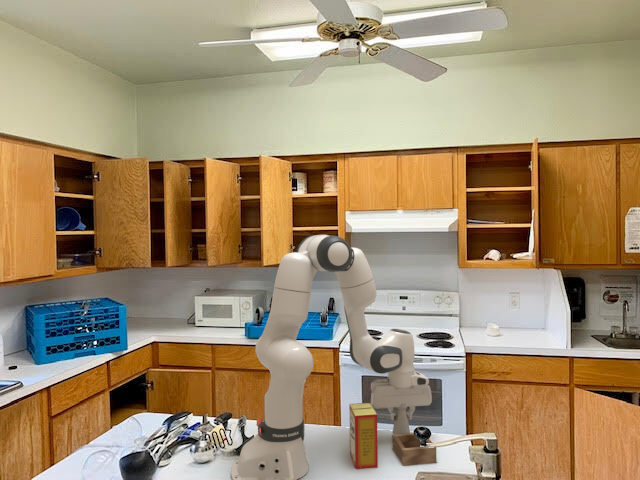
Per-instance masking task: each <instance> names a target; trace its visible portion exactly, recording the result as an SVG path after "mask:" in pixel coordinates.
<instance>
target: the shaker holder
mask: <svg viewBox="0 0 640 480" xmlns="http://www.w3.org/2000/svg"><path fill="white" fill-rule="evenodd" d="M414 433H415V432H412V433H411V432H410V433H408V434H396V435H393V434H392V435H391V441H392V442H391V443H392V444H391V447H392V450H393V451H392V452H393V453H394V454H395V455H396V458H398V460H399V462H400V463H401V465H402V466H403V467H404V466H405V467H406V466H414V465H415V466H417V465H425V464H426V465H428V464H437V447H436V446H435V447H434V448H428V447H420V440H419V439H417V438H416V437H415V435H414ZM426 443H433V442H432V441H431V439H427V440H426Z"/></svg>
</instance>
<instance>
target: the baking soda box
mask: <svg viewBox="0 0 640 480" xmlns="http://www.w3.org/2000/svg"><path fill="white" fill-rule="evenodd" d="M378 451H379V450H378V414H377V412H376V409H375V408H374V407H373V406H372V404H371V402H361V403H360V402H358V403H349V453H350V454H349V455H350V457H351V459H352V462H353V465H354V467H355V469H356V470H361V469H362V470H363V469H364V470H365V469H377V468H378V467H379V465H378V464H379V463H378V462H379V458H378V457H379V456H378V455H379V453H378Z"/></svg>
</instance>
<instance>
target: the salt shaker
mask: <svg viewBox="0 0 640 480" xmlns="http://www.w3.org/2000/svg"><path fill="white" fill-rule="evenodd" d="M395 408H396V409H395V414H396V415H397V418H396V419H397V420H393V421H394V423H393V428H392V435H396V434H408V433H411V430H410V429H411V428H410V424H409V419H408V418H407V409H408V407H406V405H405V404H404V403H403V404H401V405H400V407H395Z"/></svg>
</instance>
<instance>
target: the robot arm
mask: <svg viewBox="0 0 640 480" xmlns="http://www.w3.org/2000/svg"><path fill="white" fill-rule="evenodd" d="M317 272H330V273H335V276H336V278H337V280H338V285H339V288H340V292H341V296H342V299H343V307H344V313H345V319H346V324H347V329H348V333H349V355H350V358H351V360H352V362H353V363H355V364H357V365H359V366H361V367H364V368H366V369H369V371H372V372H374V373H377V374H382V375H383V374H386V373H387V378H380V379H379V378H376V379H374V380H373V381H372V382H371V383H370V391H371V394H370V395H371V396H370V404H371V405H372V407H373V409H374V410H378V409H387V410H388V412H389V414H390V420H391V421H394V420H397V419H396V418H397V415H396V412H395V413H394V412H393V411H394V408H396V407H400V405H401V404H403V403H404V404H405V405H406V407H407V408H408V407H409V409H408V412H407V411H406V413H407V418H408V420H412V419H413V414H414V412H415V410H416V407H421V406H423V407H424V406H430V405H431V403H432V402H433V400H432V399H433V398H432V390H431V386H430V385H429V383H430V380H429V377H427V375H425V374H423V373H422V372H419V371H416V370H415V366H414V365H415V364H414V360H415V342H414V341H415V340H414V337H413V334H412V333H411V332H410V331H407V330H405V329H399V328H391V329H389V330H388V333H387V334H386V335H385V336H383V337H382V338H381V339H379V340H378V339H376V338H373V336H371V335H370V333H369V330H368V326H367V321H366V318H365V317H366V316H365V310H366V309H367V308H368V307H370V306H371V305H372V304H373V303H374V301H376V298H377V287H376V282H375V279H374V276H373V272H372V269H371V267H370V264H369V262H368V259H367V258H366V255H365V254H364V251H363V250H362V249H360V248H358V247H351V245H350V244H349V243H348V242H347V240H345V239H344V238H343V237H341V236H338V235H328V234H317V235H309V236H307V237H305V238H304V239H303V240H302V241H300V243H299V244H298V247H297V249H296V250H295V251H294V252H288V253H286V254H285V255H283V256H282V258H281V260H280V263H279V265H278V269H277V273H276V275H275V281H274V287H273V292H272V293H273V294H272V299H271V305H270V310H269V315H268V318H267V321H266V324H265V326H264V329H263V331H262V334H261V335H260V337H259V338H258V339H257V342H256V344H255V349H254V350H255V354H256V356H257V359H258V361H259V362H260V363H261V365H263V367H265V368H266V369H268V370H269V372H270V378H269V379H270V380H269V385H268V389H267V390H266V392H265V395H264V419H262V418H260V417H259V418H258V419H257V420H256V427H257V434H256V435H255V436H254V437H252V438H251V439H250V440H249V441H248V442H246V443H245V444H244V445H243V446H242V448H241V450H240V454H239V457H238V459H236V460H235V461H234V462H233V464H232V466H231V473H230V478H231V480H298V479H301V478H303V477H304V476H305V475H306V474H307V473H308V471H309V469H310V468H309V467H310V466H309V463H308V460H307V455H306V450H305V449H306V448H305V437H306V435H305V433H306V432H305V421H304V420H305V419H304V418H303V396H304V395H303V394H304V388H305V383H306V379H307V378H308V377H309V376H310V374H311V373H312V371H313V369H314V357H313V354H312V353H311V352H310V350H309V349H308V348H307V346H305V345H304V344H303V343H302V342H300V341H297V338H298V334H299V331H300V328H301V327H302V325H303V323H305V322H306V320H307V319H308V315H309V307H310V301H311V294H312V293H311V292H312V285H313V281H314V278H315V275H316V274H317Z"/></svg>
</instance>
